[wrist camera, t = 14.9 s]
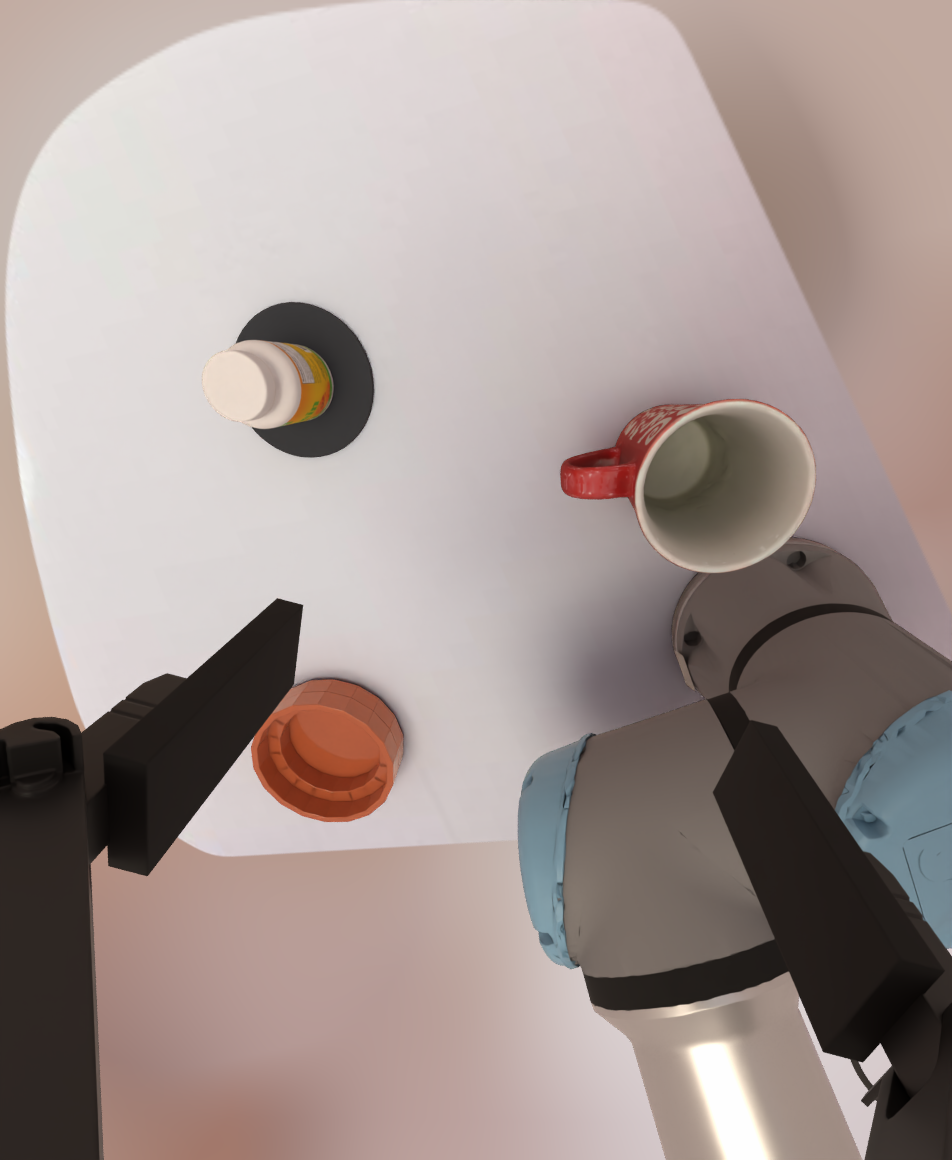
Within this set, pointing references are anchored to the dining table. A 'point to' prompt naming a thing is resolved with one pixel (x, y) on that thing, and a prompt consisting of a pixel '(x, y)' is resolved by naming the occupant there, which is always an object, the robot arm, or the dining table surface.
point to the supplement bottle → (268, 383)
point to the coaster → (346, 369)
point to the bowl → (329, 751)
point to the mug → (705, 480)
